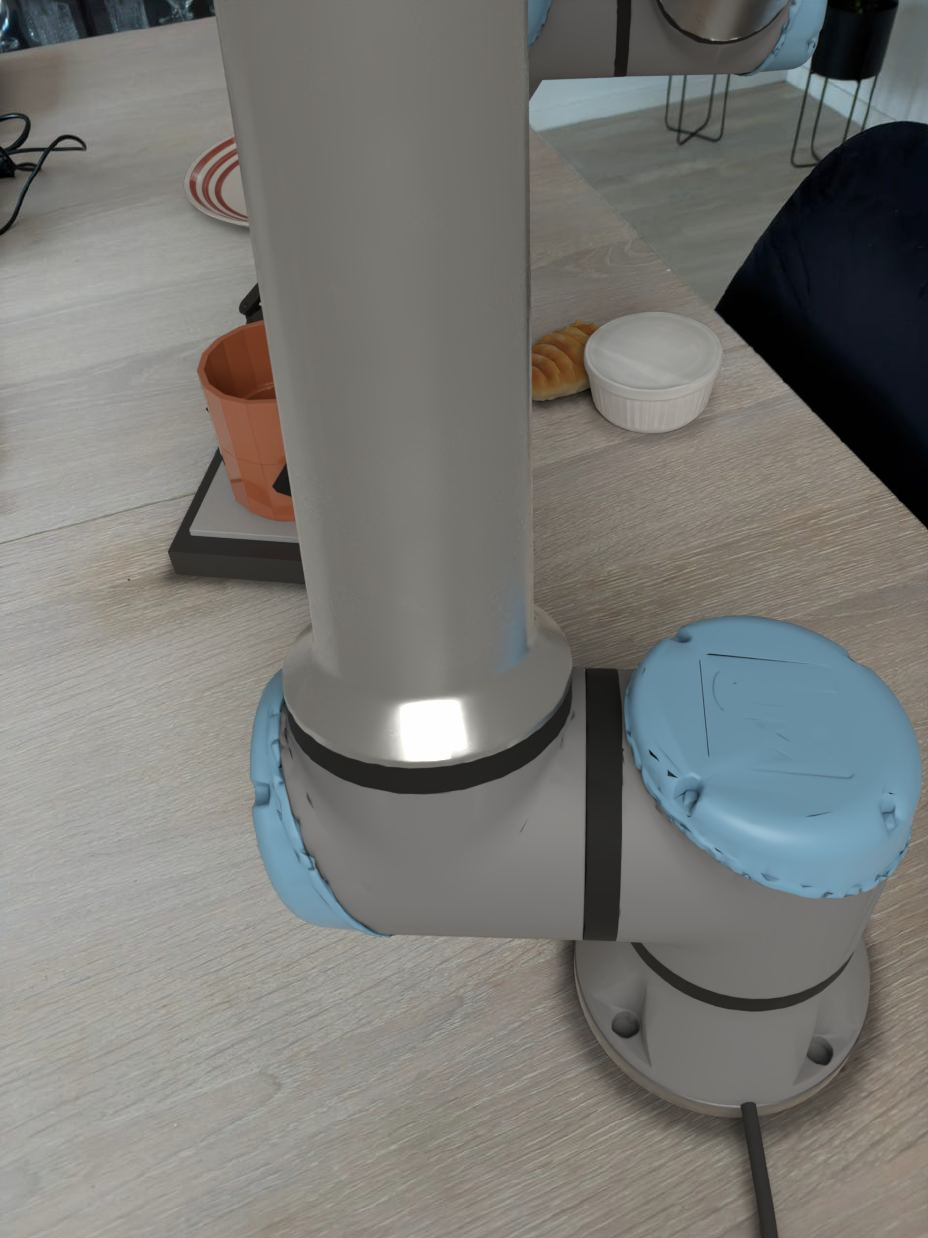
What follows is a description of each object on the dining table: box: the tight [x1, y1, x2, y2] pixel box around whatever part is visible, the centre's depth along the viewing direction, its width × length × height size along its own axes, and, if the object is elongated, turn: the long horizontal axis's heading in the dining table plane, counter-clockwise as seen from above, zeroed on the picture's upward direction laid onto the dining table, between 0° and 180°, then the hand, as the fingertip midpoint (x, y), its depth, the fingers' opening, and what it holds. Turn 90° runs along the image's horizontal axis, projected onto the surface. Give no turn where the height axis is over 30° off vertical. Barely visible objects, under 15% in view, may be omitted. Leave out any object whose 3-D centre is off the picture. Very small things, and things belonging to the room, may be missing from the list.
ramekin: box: [584, 311, 724, 434], centre depth 91 cm, size 11×11×5 cm
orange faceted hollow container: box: [196, 320, 296, 522], centre depth 80 cm, size 10×10×11 cm
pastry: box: [531, 319, 601, 402], centre depth 94 cm, size 9×7×4 cm
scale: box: [167, 446, 306, 585], centre depth 85 cm, size 16×16×3 cm
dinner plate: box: [183, 132, 249, 228], centre depth 121 cm, size 27×27×3 cm
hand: (254, 454), depth 80 cm, fingers closed on orange faceted hollow container, 10 cm apart
